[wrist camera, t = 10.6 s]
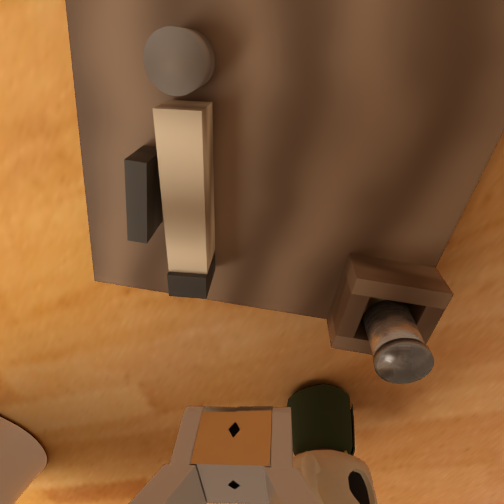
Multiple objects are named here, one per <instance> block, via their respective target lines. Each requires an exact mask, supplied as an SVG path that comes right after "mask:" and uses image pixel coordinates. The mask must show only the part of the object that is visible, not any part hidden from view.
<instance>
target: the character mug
mask: <svg viewBox="0 0 504 504" xmlns="http://www.w3.org/2000/svg"><path fill="white" fill-rule="evenodd" d="M287 407H291V420H292V443H293V453H294V455H295V457H293V468H298V469H299V471H300V473H301V474H302V476H303V477H304V479H305V481H306V482H307V484H308V486H309V487H310V489H311V491H312V492H313V494H314V496H315V497H316V499H317V500H318V502H319V504H377V500H376V494H375V491H374V487H373V482H372V478H371V473H370V471H369V468H368V466H367V464H366V463H365V462H364V461H362V460H361V459H359V458H357V457H355V456H353V455H354V452H355V438H354V415H353V404H352V407H351V409H350V399H349V395H348V394H347V393H346V392H344V391H343V390H342V389H340V388H339V387H335V386H331V385H327V384H322V385H317V386H312V387H308V388H305V389H303V390H300V391H298V392H296V393H295V394H294V395H292V396H291V397H290V398H289V399H288V404H287Z"/></svg>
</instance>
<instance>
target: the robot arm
mask: <svg viewBox="0 0 504 504" xmlns="http://www.w3.org/2000/svg"><path fill="white" fill-rule="evenodd" d="M46 464H47V456H46V453H45V451H44V449H43V448H42V446H41V445H40V444H39V443H38V441H37V440H36V439H35V438H34V437H32V436H31V435H30V434H29V433H27V432H26V431H25V430H23V429H22V428H20V427H19V426H17V425H15V424H13V423H12V422H10V421H8V420H6V419H4V418H2V417H0V504H15V502H16V501H17V500H18V498H19V497H20V496H21V494H22V493H23V492H24V491H25V490H26V488H27V487H28V486H29V485H30V484H31V482H32V481H33V480H34V479H35V478H36V477H37V476H38V475H39V474H40V473H41V472H42V471H43V470H44V468H45V467H46ZM206 503H243V504H319V502H318V500H317V499H316V497H315V496H314V494H313V492H312V491H311V489H310V487H309V486H308V484H307V482H306V481H305V479H304V477H303V476H302V474H301V473H300V471H299V469H298V468H293V443H292V420H291V407H208V406H187V407H186V409H185V410H184V412H183V416H182V420H181V423H180V427H179V431H178V434H177V438H176V442H175V445H174V449H173V453H172V457H171V460H170V464H164V465H163V466H162V467H161V468H160V469H159V471H158V472H157V473H156V474H155V475H154V476H153V477H152V478H151V479H150V480H149V482H148V483H147V484H146V485H145V486H144V487H143V488H142V489H141V490H140V491H139V493H138V494H137V495H136V496H135V497H134V498H133V499H132V500H131V501H130V503H129V504H206Z"/></svg>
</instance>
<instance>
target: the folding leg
mask: <svg viewBox="0 0 504 504" xmlns="http://www.w3.org/2000/svg"><path fill="white" fill-rule="evenodd" d="M143 61H144V67H145V70H146V73H147V75H148V77H149V79H150V80H151V82H152V83H153V84H154V86H155V87H157V88H158V89H159V90H160V91H162V92H163V93H165V94H168V95H171V96H184V95H187V94H189V93H191V92H193V91H194V90H196V89H198V88H200V87H202V86H203V85H205V84H206V83H207V82H208V81H209V80H210V78H211V77H212V75H213V73H214V69H215V54H214V50H213V48H212V45H211V44H210V42H209V41H208V39H207V38H206V37H205V36H204V35H203V34H201V33H200V32H198V31H196V30H193V29H188V28H181V27H174V26H166V27H162V28H160V29H158V30H156V31H155V32H154V33H152V35H151V36H150V37H149V38H148V40H147V42H146V44H145V48H144V53H143ZM152 109H153V119H154V129H155V139H156V149H157V159H158V169H159V179H160V189H161V199H162V209H163V219H164V229H165V239H166V249H167V259H168V269H169V272H168V274H167V280H168V290H169V296H177V297H190V298H203V299H207V296H208V292H209V289H210V286H211V282H212V279H213V276H214V272H215V218H214V165H213V111H212V102H203V101H184V100H168V101H166V102H164V103H162V104H160V105H158V106H156V107H154V108H152Z"/></svg>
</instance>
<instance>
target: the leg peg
mask: <svg viewBox="0 0 504 504" xmlns="http://www.w3.org/2000/svg"><path fill="white" fill-rule="evenodd" d="M363 321H364V325H365V329H366V332H367V336H368V339H369V343H370V346H371V350H372V353H373V363H374V367H375V370H376V373H377V374H378V375H379V376H380V377H381V378H382V379H384V380H385V381H388V382H391V383H397V384H405V383H411V382H415V381H417V380H420V379H422V378H423V377H425V376H426V375H427V374H428V373H429V372H430V371H431V370H432V368H433V365H434V358H433V355H432V353H431V351H430V349H429V347H428V346H427V345H426V344H425V343H424V341H423V339H422V336H421V334H420V332H419V330H418V328H417V326H416V324H415V321H414V319H413V317H412V315H411V313H410V311H409V309H408V307H407V306H406V305H405V304H403V303H401V302H398V301H392V300H383V301H380V302H377V303H375V304H373V305H372V306H370V307H369V308H368V309H367V310H366V312H365V314H364V317H363Z"/></svg>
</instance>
